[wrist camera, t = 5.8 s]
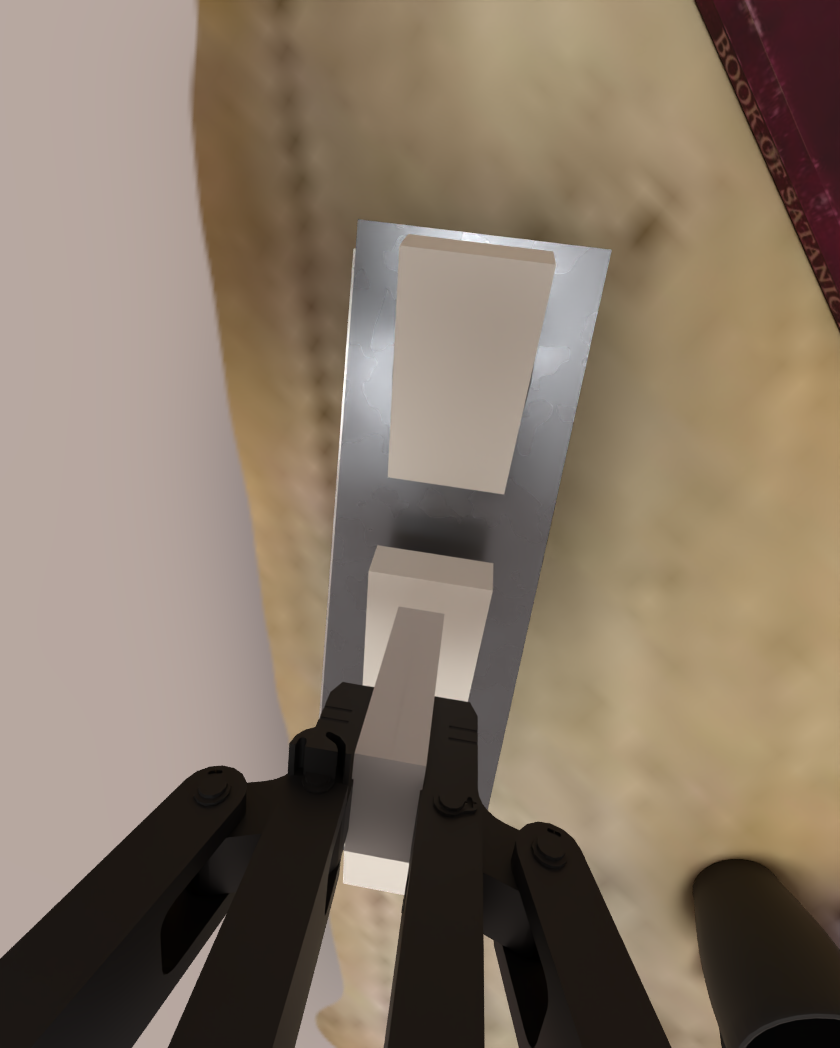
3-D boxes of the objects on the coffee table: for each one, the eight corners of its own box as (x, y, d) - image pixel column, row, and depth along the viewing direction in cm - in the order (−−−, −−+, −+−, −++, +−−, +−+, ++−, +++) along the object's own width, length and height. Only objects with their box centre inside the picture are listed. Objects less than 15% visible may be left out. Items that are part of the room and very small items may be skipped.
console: (375, 241, 26) (353, 218, 21) (586, 266, 25) (611, 249, 20) (329, 783, 37) (308, 846, 33) (473, 809, 37) (472, 878, 32)
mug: (636, 946, 39) (682, 1124, 30) (699, 831, 35) (773, 997, 26) (745, 975, 39) (824, 1162, 30) (821, 861, 35) (938, 1040, 26)
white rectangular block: (380, 528, 24) (366, 570, 21) (496, 546, 23) (495, 591, 21) (372, 664, 29) (359, 712, 26) (466, 680, 28) (463, 730, 26)
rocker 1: (358, 740, 28) (343, 798, 25) (456, 757, 27) (451, 817, 25) (354, 827, 33) (341, 882, 30) (437, 843, 32) (431, 900, 30)
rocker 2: (411, 226, 19) (396, 244, 17) (554, 243, 19) (559, 265, 17) (397, 440, 25) (385, 477, 23) (507, 456, 25) (506, 494, 22)
